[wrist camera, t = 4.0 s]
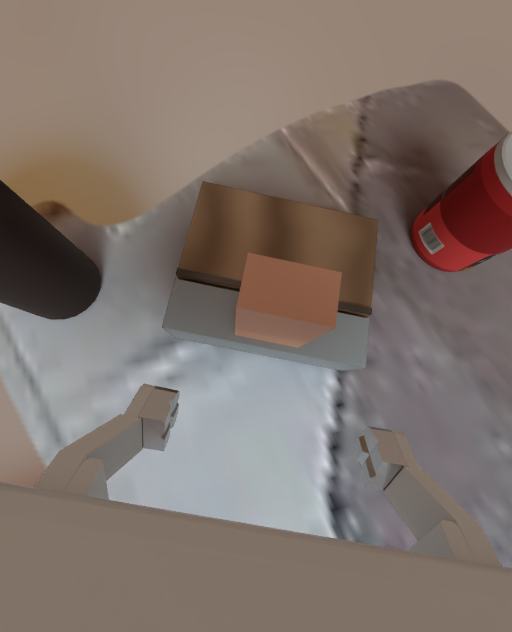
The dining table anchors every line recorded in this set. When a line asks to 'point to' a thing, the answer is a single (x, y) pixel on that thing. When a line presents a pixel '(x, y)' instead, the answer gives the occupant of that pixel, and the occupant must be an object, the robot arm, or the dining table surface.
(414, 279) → the dining table surface
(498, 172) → the canned food
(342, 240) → the block
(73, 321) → the dining table surface
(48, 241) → the bottle
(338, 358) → the stub
